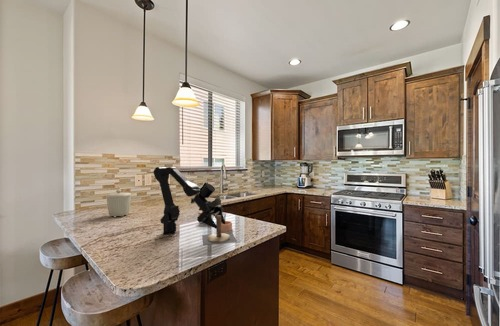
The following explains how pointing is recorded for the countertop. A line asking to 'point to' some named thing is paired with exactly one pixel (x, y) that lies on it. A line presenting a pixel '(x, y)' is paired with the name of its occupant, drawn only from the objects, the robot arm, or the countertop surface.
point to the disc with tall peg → (218, 232)
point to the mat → (207, 242)
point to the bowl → (226, 226)
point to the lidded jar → (201, 212)
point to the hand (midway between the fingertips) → (220, 225)
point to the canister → (118, 203)
